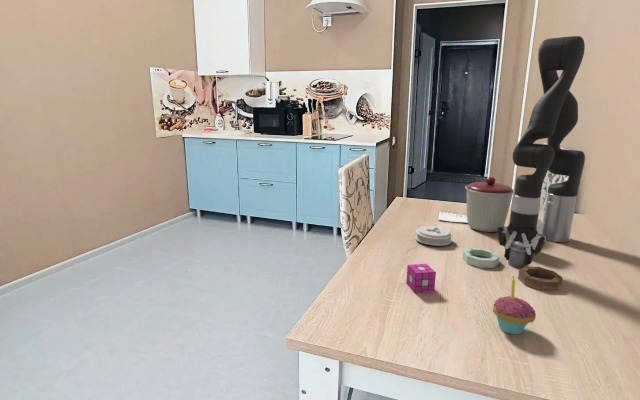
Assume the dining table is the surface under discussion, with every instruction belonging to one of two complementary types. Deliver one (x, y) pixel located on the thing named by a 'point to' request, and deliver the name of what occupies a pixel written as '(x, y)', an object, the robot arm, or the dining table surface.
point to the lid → (433, 235)
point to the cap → (517, 255)
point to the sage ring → (481, 257)
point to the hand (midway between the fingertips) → (517, 261)
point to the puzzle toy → (420, 278)
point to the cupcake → (513, 312)
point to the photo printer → (534, 240)
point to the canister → (488, 204)
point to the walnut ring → (540, 278)
